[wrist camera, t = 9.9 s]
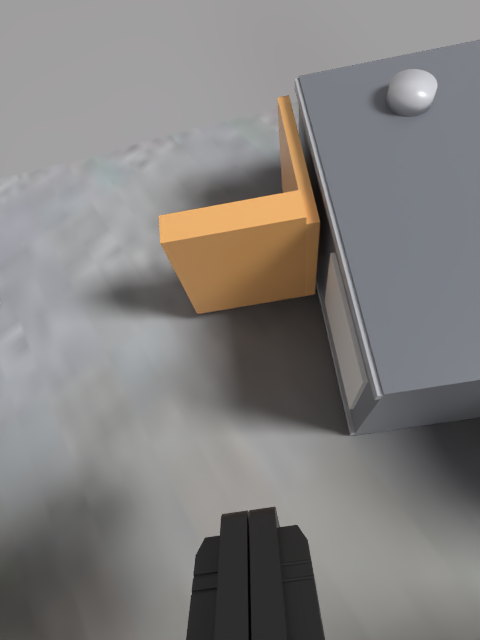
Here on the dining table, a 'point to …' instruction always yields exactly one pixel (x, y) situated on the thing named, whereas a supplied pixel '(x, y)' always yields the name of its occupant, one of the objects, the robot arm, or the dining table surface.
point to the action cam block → (399, 232)
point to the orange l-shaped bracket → (250, 239)
